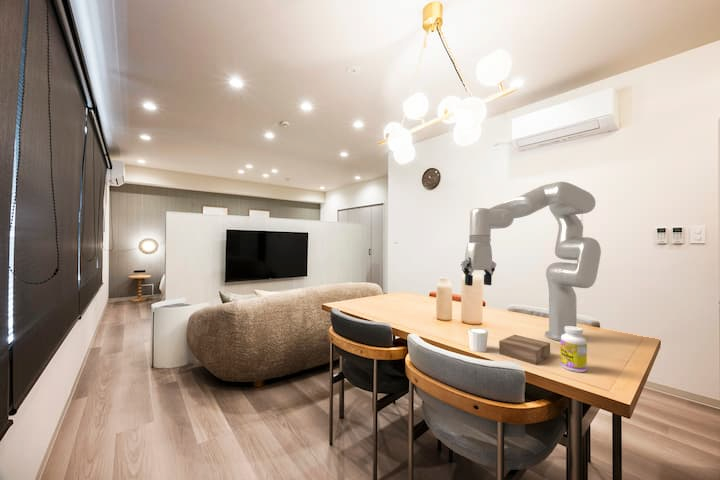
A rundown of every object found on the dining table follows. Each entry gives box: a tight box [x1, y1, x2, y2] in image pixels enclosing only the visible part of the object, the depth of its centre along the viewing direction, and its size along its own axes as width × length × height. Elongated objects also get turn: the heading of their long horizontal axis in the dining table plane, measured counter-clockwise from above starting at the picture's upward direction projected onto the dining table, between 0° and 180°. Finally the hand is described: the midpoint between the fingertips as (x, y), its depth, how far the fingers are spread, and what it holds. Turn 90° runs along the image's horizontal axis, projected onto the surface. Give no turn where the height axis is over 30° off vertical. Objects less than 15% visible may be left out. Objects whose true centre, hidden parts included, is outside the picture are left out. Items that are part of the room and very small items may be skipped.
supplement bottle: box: [560, 326, 588, 373], centre depth 92 cm, size 7×7×13 cm
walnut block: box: [498, 334, 551, 366], centre depth 103 cm, size 12×12×5 cm
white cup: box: [467, 327, 489, 353], centre depth 109 cm, size 7×7×7 cm
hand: (478, 285), depth 112 cm, fingers open, 9 cm apart
